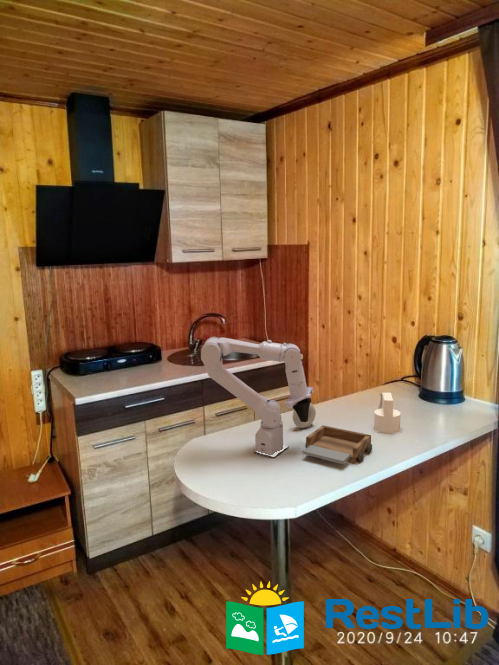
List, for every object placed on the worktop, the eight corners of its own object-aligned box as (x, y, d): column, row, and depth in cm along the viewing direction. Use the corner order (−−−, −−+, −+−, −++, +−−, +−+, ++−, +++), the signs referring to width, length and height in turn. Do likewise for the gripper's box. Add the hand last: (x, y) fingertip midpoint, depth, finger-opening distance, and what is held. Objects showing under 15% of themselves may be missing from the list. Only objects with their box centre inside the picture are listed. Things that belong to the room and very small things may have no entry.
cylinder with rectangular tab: (401, 433, 167) (402, 401, 165) (374, 432, 169) (375, 400, 166) (398, 424, 176) (399, 392, 173) (373, 423, 177) (373, 392, 175)
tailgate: (350, 459, 146) (343, 466, 142) (310, 450, 154) (303, 456, 150) (350, 454, 146) (343, 461, 142) (310, 444, 153) (303, 451, 149)
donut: (296, 432, 172) (296, 405, 170) (290, 429, 174) (290, 403, 173) (317, 425, 177) (317, 399, 175) (311, 423, 180) (311, 397, 178)
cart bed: (358, 464, 145) (358, 449, 144) (304, 451, 156) (303, 436, 155) (373, 450, 155) (373, 435, 154) (320, 438, 165) (320, 424, 164)
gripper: (295, 389, 145) (303, 431, 148) (318, 374, 156) (325, 413, 159) (276, 389, 150) (284, 429, 152) (300, 374, 161) (307, 412, 163)
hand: (304, 421), depth 156 cm, fingers closed
